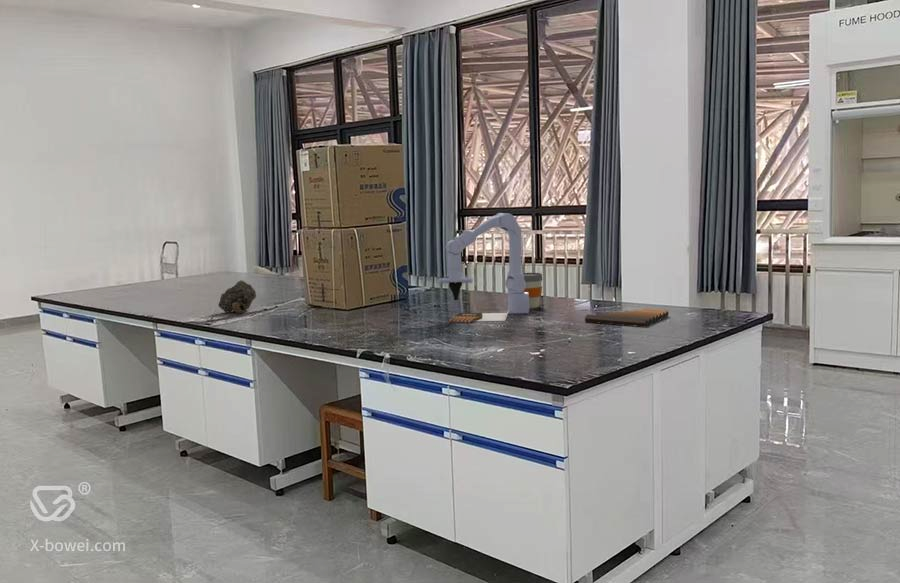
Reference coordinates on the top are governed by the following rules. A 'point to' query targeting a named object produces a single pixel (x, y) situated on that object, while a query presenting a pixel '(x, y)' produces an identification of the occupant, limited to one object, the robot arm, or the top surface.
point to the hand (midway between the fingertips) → (456, 299)
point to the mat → (493, 317)
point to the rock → (237, 298)
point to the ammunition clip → (466, 317)
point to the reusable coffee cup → (533, 288)
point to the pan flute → (629, 317)
